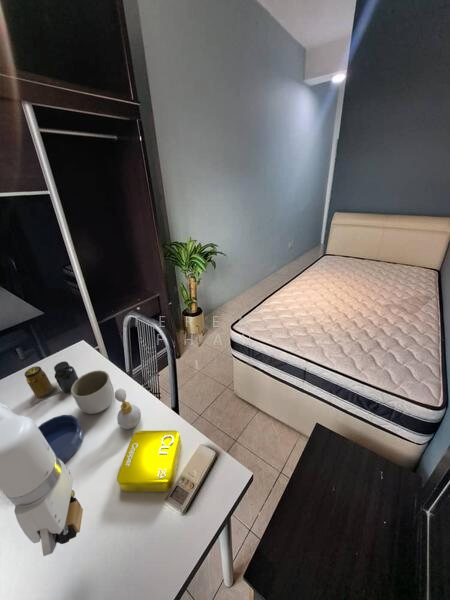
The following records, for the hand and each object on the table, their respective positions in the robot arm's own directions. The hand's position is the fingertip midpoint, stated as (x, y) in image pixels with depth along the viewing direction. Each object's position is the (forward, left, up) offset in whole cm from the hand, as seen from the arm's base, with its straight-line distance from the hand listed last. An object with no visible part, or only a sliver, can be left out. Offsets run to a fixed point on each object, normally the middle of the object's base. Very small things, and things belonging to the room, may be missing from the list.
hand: (70, 523), depth 51 cm
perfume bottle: (+8, +31, -13) cm, 35 cm away
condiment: (-24, +57, -13) cm, 63 cm away
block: (0, 0, 0) cm, 0 cm away
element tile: (+15, +14, -13) cm, 25 cm away
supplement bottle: (-15, +56, -13) cm, 59 cm away
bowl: (-14, +30, -13) cm, 35 cm away
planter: (-3, +43, -13) cm, 45 cm away
